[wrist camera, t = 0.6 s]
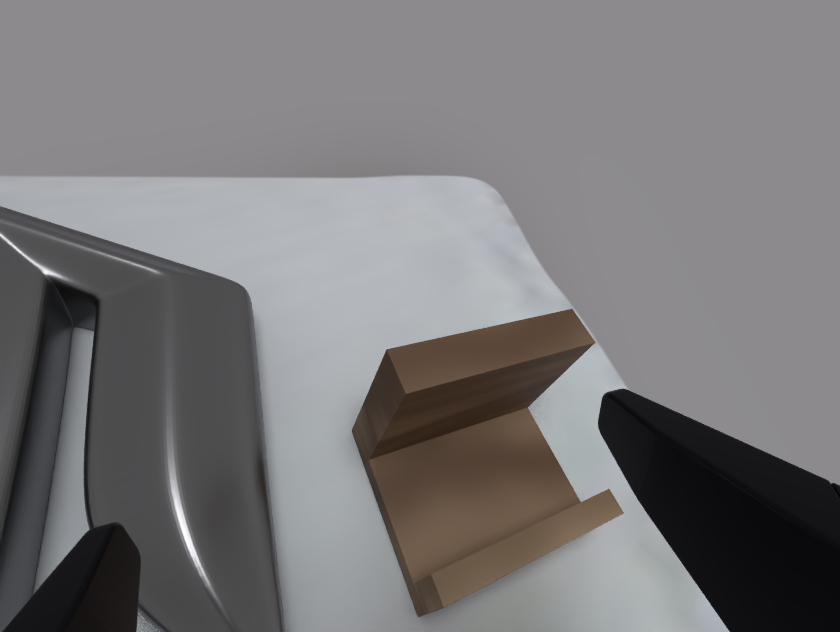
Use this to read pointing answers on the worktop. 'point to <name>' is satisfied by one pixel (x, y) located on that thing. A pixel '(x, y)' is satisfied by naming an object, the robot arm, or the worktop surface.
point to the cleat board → (473, 456)
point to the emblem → (138, 424)
